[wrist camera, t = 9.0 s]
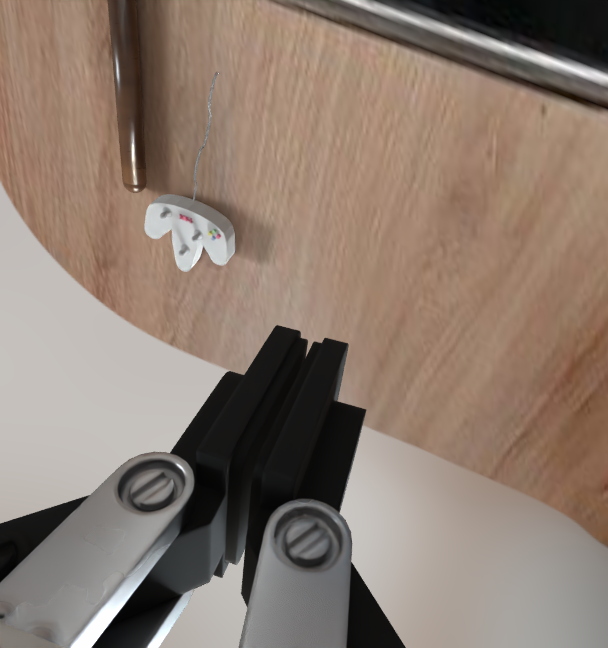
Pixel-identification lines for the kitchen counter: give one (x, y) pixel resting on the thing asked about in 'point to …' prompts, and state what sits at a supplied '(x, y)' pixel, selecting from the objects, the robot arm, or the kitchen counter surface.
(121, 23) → the spoon
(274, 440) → the robot arm
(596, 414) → the kitchen counter surface
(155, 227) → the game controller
